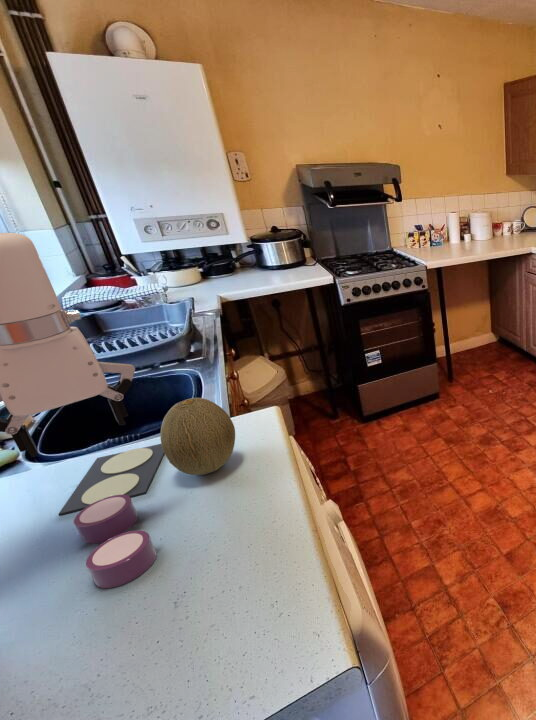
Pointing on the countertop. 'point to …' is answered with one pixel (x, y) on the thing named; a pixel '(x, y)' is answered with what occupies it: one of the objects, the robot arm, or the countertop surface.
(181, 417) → the fruit
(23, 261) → the robot arm
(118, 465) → the mat
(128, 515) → the dish
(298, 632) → the countertop surface
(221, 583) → the countertop surface
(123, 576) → the dish
